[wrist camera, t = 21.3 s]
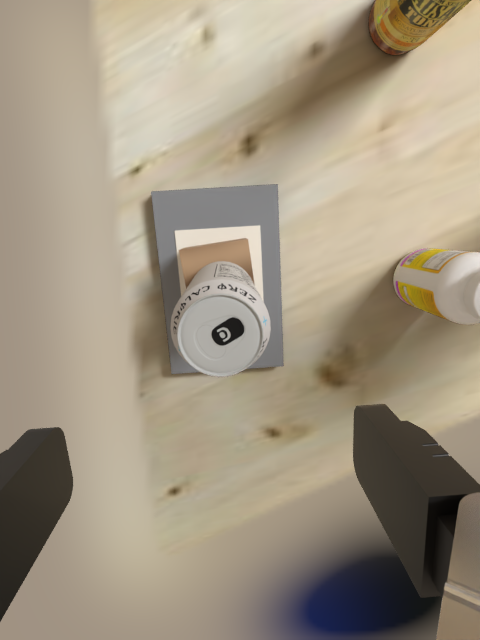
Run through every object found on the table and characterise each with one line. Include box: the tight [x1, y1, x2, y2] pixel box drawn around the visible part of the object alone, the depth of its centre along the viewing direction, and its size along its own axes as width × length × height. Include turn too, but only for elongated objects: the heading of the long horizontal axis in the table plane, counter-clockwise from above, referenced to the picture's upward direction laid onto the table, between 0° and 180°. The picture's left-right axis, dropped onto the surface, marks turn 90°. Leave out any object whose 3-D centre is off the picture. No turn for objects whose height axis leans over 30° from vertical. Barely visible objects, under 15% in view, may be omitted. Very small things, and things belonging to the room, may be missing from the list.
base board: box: [151, 184, 284, 374], centre depth 40 cm, size 20×13×2 cm, turn 3°
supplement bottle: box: [393, 249, 480, 325], centre depth 36 cm, size 7×7×13 cm
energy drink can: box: [170, 261, 271, 377], centre depth 27 cm, size 6×6×15 cm
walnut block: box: [179, 238, 255, 289], centre depth 37 cm, size 9×6×5 cm
